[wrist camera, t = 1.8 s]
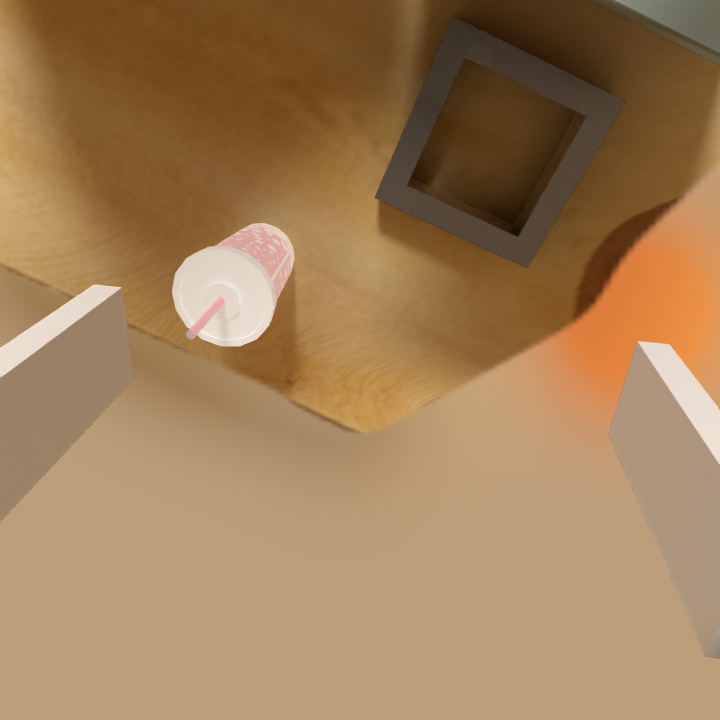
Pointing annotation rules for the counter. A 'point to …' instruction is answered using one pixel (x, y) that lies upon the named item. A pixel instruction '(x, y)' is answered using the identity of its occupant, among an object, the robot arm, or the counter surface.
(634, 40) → the counter surface
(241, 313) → the beverage cup
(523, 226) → the socket collar
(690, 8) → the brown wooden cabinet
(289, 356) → the counter surface
